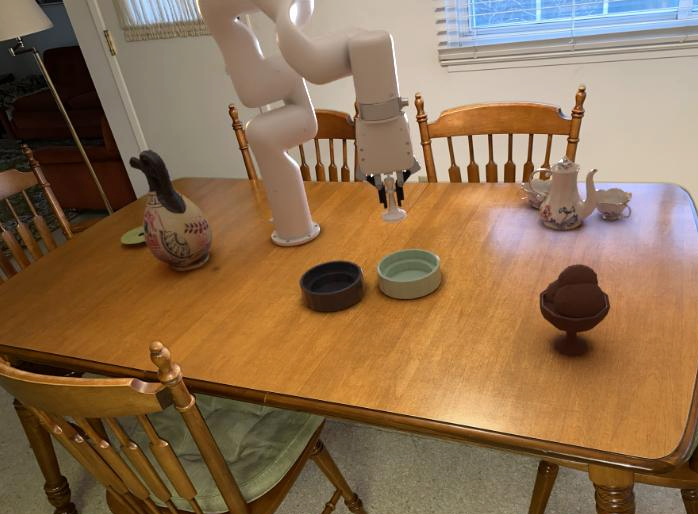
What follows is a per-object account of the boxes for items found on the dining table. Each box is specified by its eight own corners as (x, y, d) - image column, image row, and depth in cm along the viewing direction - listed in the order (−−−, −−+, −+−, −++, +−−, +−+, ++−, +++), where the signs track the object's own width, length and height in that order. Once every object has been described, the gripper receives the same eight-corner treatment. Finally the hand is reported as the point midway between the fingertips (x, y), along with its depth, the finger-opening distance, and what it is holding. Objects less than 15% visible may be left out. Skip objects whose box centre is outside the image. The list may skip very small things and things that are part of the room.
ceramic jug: (147, 268, 139) (97, 154, 123) (199, 242, 148) (159, 132, 131) (181, 287, 129) (131, 165, 112) (235, 258, 138) (196, 140, 121)
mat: (131, 253, 148) (128, 247, 147) (117, 242, 156) (114, 236, 154) (170, 237, 154) (168, 230, 152) (155, 226, 161) (152, 220, 160)
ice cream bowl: (528, 332, 98) (529, 259, 90) (590, 322, 98) (597, 249, 90) (548, 371, 89) (552, 294, 81) (616, 360, 89) (626, 282, 81)
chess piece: (404, 222, 106) (398, 173, 101) (379, 223, 107) (372, 174, 102) (408, 211, 110) (402, 163, 104) (384, 212, 111) (377, 164, 106)
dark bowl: (291, 300, 118) (286, 282, 115) (336, 272, 125) (332, 254, 123) (333, 320, 110) (328, 301, 107) (378, 288, 117) (375, 270, 115)
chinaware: (636, 215, 131) (647, 145, 123) (620, 241, 119) (630, 165, 111) (522, 202, 145) (525, 138, 137) (498, 224, 133) (499, 155, 125)
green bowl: (366, 288, 118) (363, 270, 115) (407, 260, 125) (404, 243, 123) (413, 307, 110) (411, 288, 107) (453, 276, 117) (452, 258, 114)
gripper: (422, 97, 100) (431, 191, 110) (335, 110, 100) (352, 202, 111) (426, 108, 94) (435, 207, 104) (333, 121, 94) (351, 218, 104)
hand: (392, 204), depth 107 cm, fingers closed on chess piece
